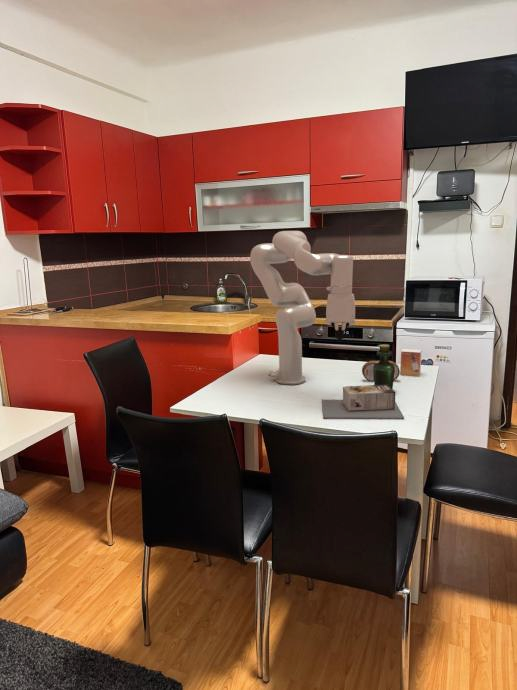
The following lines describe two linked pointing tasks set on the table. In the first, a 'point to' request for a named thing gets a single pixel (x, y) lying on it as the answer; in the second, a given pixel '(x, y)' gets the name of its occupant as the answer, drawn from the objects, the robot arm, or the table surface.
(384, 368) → the potion bottle
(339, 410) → the mat
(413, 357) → the small box
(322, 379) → the table surface
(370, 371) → the tin
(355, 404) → the coffee box
